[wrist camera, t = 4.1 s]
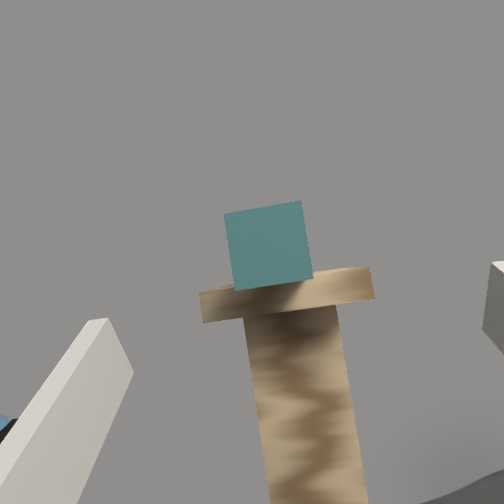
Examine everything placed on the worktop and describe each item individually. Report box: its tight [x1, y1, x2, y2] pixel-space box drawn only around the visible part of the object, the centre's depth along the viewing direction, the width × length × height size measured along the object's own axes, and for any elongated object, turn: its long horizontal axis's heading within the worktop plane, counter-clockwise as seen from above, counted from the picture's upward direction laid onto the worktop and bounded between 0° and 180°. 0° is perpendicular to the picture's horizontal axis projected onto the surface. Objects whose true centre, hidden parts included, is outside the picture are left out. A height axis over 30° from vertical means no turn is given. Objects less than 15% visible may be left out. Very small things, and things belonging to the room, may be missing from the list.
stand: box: [199, 267, 375, 504], centre depth 27 cm, size 11×12×30 cm
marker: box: [224, 201, 314, 291], centre depth 24 cm, size 3×21×3 cm, turn 173°
